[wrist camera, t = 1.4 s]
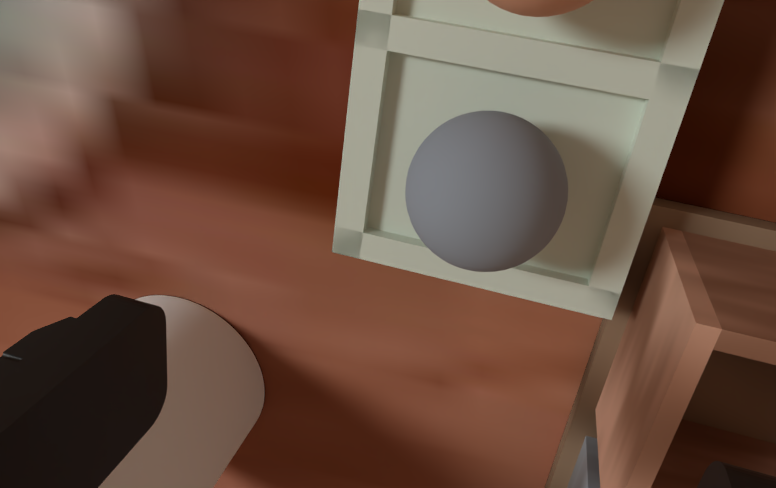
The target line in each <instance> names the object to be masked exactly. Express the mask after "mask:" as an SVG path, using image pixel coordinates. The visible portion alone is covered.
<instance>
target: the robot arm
mask: <svg viewBox="0 0 776 488" xmlns="http://www.w3.org/2000/svg"><path fill="white" fill-rule="evenodd" d="M166 394H167V340H166V316H165V313H164V310H163V309H162V308H161V307H159V306H156V305H153V304H149V303H145V302H142V301H138V300H134V299H131V298H127V297H123V296H120V295H115V294H113V295H109V296H107V297H105V298H103V299H102V300H101V301H99V302H98V303H97V304H95V305H94V306H93V307H91V308H90V309H89V310H87V311H86V312H85V313H83V314H82V315H81V316H79V317H78V318H77V319H76V318H73V317H68V318H66V319H63V320H61V321H58V322H55V323H53V324H50V325H48V326H45V327H42V328H40V329H37V330H35V331H33V332H31V333H30V334H28V335H27V336H25V337H24V338H23V339H21V340H20V341H18V342H17V343H16V344H14V345H13V346H11V347H10V348H8V349H7V350H6V351H4V352H3V355H2V357H0V488H98V487H99V486H100V485H101V484H102V483H103V481H104V480H105V479H106V478H107V477H108V476H109V475H110V474H111V472H112V471H113V470H114V469H115V468H116V467H117V466H118V464H119V463H120V462H121V461H122V460H123V459H124V458H125V456H126V455H127V454H128V453H129V452H130V451H131V450H132V448H133V447H134V446H135V445H136V444H137V443H138V442H139V440H140V439H141V438H142V437H143V436H144V435H145V434H146V433H147V431H148V430H149V429H150V428H151V427H152V425H153V424H154V423H155V421H156V420H157V418H158V416H159V414H160V412H161V410H162V407H163V405H164V402H165V398H166ZM697 488H776V477H775V476H771V475H768V474H764V473H760V472H757V471H753V470H749V469H746V468H742V467H738V466H735V465H731V464H728V463H724V462H720V461H714V462H712V463H711V464H710V465H709V466H708V467H707V469H706V470H705V472H704V474H703V476H702V478H701V480H700V482H699V484H698V486H697Z"/></svg>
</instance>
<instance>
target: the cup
mask: <svg viewBox="0 0 776 488" xmlns="http://www.w3.org/2000/svg"><path fill="white" fill-rule="evenodd" d="M135 300H138V301H142V302H145V303H149V304H153V305H156V306H159V307H161V308H162V309H163V310H164V313H165V316H166V340H167V394H166V398H165V402H164V405H163V407H162V410H161V412H160V414H159V416H158V418H157V420H156V421H155V423H154V424H153V425H152V427H151V428H150V429H149V430H148V431H147V433H146V434H145V435H144V436H143V437H142V438H141V439H140V440H139V442H138V443H137V444H136V445H135V446H134V447H133V448H132V450H131V451H130V452H129V453H128V454H127V455H126V456H125V458H124V459H123V460H122V461H121V462H120V463H119V464H118V466H117V467H116V468H115V469H114V470H113V471H112V472H111V474H110V475H109V476H108V477H107V478H106V479H105V480H104V481H103V483H102V484H101V485H100V486H99V487H98V488H213V487H214V485H215V484H216V482H217V481H218V479H219V478H220V476H221V475H222V473H223V472H224V470H225V469H226V467H227V466H228V464H229V462H230V461H231V459H232V458H233V456H234V455H235V453H236V452H237V450H238V449H239V447H240V446H241V444H242V443H243V441H244V440H245V438H246V437H247V435H248V433H249V432H250V430H251V429H252V427H253V426H254V424H255V423H256V421H257V420H258V418H259V416H260V414H261V411H262V408H263V404H264V396H265V388H264V381H263V376H262V372H261V370H260V367H259V364H258V362H257V360H256V358H255V356H254V354H253V352H252V350H251V349H250V347H249V346H248V344H247V343H246V342H245V341H244V339H243V338H242V337H241V336H240V335H239V333H238V332H237V331H236V330H235V329H234V328H233V327H232V326H231V325H229V324H228V323H227V322H226V321H225V320H223V319H222V318H221V317H219V316H218V315H217V314H215V313H214V312H212V311H210V310H209V309H207V308H205V307H203V306H201V305H199V304H197V303H194V302H192V301H189V300H186V299H182V298H178V297H173V296H166V295H153V296H145V297H141V298H138V299H135Z"/></svg>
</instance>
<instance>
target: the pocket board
mask: <svg viewBox="0 0 776 488" xmlns="http://www.w3.org/2000/svg"><path fill="white" fill-rule="evenodd" d="M723 2H724V0H593V1H591V2H590V3H588V4H586V5H585V6H582V7H580V8H578V9H576V10H573V11H570V12H567V13H564V14H561V15H555V16H549V17H530V16H522V15H518V14H514V13H511V12H508V11H506V10H503V9H501V8H499V7H497V6H496V5H494V4H492V3H490V2H489V1H488V0H359V8H358V17H357V26H356V35H355V45H354V54H353V63H352V72H351V82H350V91H349V100H348V109H347V119H346V128H345V137H344V146H343V156H342V165H341V174H340V183H339V193H338V202H337V211H336V220H335V230H334V239H333V248H332V252H334V253H338V254H342V255H346V256H351V257H355V258H359V259H363V260H367V261H371V262H375V263H379V264H383V265H387V266H392V267H396V268H400V269H404V270H408V271H412V272H416V273H420V274H424V275H428V276H433V277H437V278H441V279H445V280H449V281H453V282H457V283H461V284H465V285H469V286H474V287H478V288H482V289H486V290H490V291H494V292H498V293H502V294H506V295H510V296H514V297H519V298H523V299H527V300H531V301H535V302H539V303H543V304H547V305H551V306H555V307H560V308H564V309H568V310H572V311H576V312H580V313H584V314H588V315H592V316H596V317H601V318H605V319H609V320H612V317H613V315H614V312H615V309H616V306H617V303H618V300H619V298H620V295H621V292H622V289H623V286H624V283H625V281H626V278H627V275H628V272H629V269H630V266H631V264H632V261H633V258H634V255H635V252H636V249H637V247H638V244H639V241H640V238H641V235H642V232H643V229H644V227H645V224H646V221H647V218H648V215H649V212H650V210H651V207H652V204H653V201H654V198H655V195H656V193H657V190H658V187H659V184H660V181H661V178H662V176H663V173H664V170H665V167H666V164H667V161H668V158H669V156H670V153H671V150H672V147H673V144H674V141H675V139H676V136H677V133H678V130H679V127H680V124H681V122H682V119H683V116H684V113H685V110H686V107H687V105H688V102H689V99H690V96H691V93H692V90H693V88H694V85H695V82H696V79H697V76H698V73H699V70H700V68H701V65H702V62H703V59H704V56H705V53H706V51H707V48H708V45H709V42H710V39H711V36H712V34H713V31H714V28H715V25H716V22H717V19H718V17H719V14H720V11H721V8H722V5H723ZM476 111H500V112H506V113H510V114H513V115H516V116H518V117H521V118H523V119H525V120H527V121H529V122H530V123H532V124H533V125H535V126H536V127H537V128H539V129H540V130H541V131H542V132H543V133H544V134H545V135H546V136H547V137H548V138H549V139H550V140H551V142H552V143H553V144H554V146H555V147H556V149H557V150H558V152H559V154H560V156H561V158H562V161H563V163H564V166H565V170H566V175H567V179H568V201H567V206H566V211H565V215H564V217H563V220H562V223H561V225H560V227H559V229H558V230H557V232H556V234H555V235H554V237H553V238H552V239H551V241H550V242H549V243H548V244H547V245H546V247H545V248H544V249H543V250H542V251H540V252H539V253H538V254H537V255H535V256H534V257H533V258H531V259H529V260H528V261H526V262H524V263H523V264H520V265H518V266H516V267H513V268H510V269H506V270H502V271H496V272H475V271H470V270H465V269H462V268H459V267H456V266H454V265H451V264H449V263H447V262H446V261H444V260H442V259H441V258H439V257H438V256H437V255H435V254H434V253H433V252H432V251H431V250H430V249H429V248H428V247H426V245H425V244H424V243H423V242H422V241H421V239H420V238H419V236H418V235H417V233H416V232H415V230H414V228H413V225H412V223H411V221H410V217H409V214H408V211H407V206H406V199H405V188H406V178H407V174H408V169H409V167H410V164H411V161H412V159H413V157H414V155H415V153H416V151H417V150H418V148H419V146H420V145H421V144H422V142H423V141H424V140H425V139H426V138H427V137H428V136H429V135H430V134H431V133H432V132H433V131H434V130H435V129H436V128H438V127H439V126H440V125H442V124H443V123H445V122H447V121H448V120H450V119H452V118H455V117H457V116H459V115H462V114H466V113H470V112H476Z"/></svg>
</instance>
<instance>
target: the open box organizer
mask: <svg viewBox="0 0 776 488" xmlns="http://www.w3.org/2000/svg"><path fill="white" fill-rule="evenodd" d="M714 461H720V462H724V463H728V464H731V465H735V466H738V467H742V468H746V469H749V470H753V471H757V472H760V473H764V474H768V475H771V476H775V477H776V223H774V222H769V221H765V220H760V219H755V218H750V217H746V216H741V215H736V214H731V213H727V212H722V211H717V210H713V209H708V208H703V207H698V206H694V205H689V204H684V203H679V202H675V201H670V200H665V199H660V198H656V197H655V198H654V201H653V204H652V207H651V210H650V212H649V215H648V218H647V221H646V224H645V227H644V229H643V232H642V235H641V238H640V241H639V244H638V247H637V249H636V252H635V255H634V258H633V261H632V264H631V266H630V269H629V272H628V275H627V278H626V281H625V283H624V286H623V289H622V292H621V295H620V298H619V300H618V303H617V306H616V309H615V312H614V315H613V317H612V320H609V319H605V318H603V320H602V323H601V326H600V329H599V332H598V334H597V337H596V340H595V343H594V346H593V349H592V352H591V355H590V358H589V361H588V364H587V366H586V369H585V372H584V375H583V378H582V381H581V384H580V387H579V390H578V393H577V395H576V398H575V401H574V404H573V407H572V410H571V413H570V416H569V419H568V422H567V424H566V427H565V430H564V433H563V436H562V439H561V442H560V445H559V448H558V451H557V454H556V456H555V459H554V462H553V465H552V468H551V471H550V474H549V477H548V480H547V483H546V485H545V488H697V486H698V484H699V482H700V480H701V478H702V476H703V474H704V472H705V470H706V469H707V467H708V466H709V465H710V464H711V463H712V462H714Z"/></svg>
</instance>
